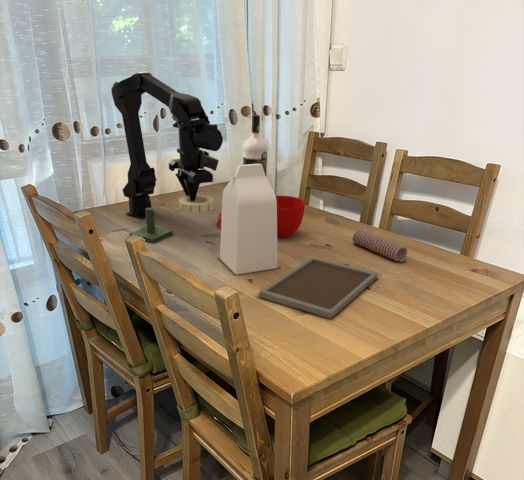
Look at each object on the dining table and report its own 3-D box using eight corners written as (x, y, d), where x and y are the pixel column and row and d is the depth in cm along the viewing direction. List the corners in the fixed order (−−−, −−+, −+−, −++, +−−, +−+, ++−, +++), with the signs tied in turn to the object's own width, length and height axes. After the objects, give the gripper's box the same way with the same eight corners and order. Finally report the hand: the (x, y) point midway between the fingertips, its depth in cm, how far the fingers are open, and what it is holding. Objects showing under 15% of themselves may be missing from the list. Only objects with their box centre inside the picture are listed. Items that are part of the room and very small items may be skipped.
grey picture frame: (258, 291, 132) (316, 253, 154) (258, 297, 133) (316, 258, 155) (331, 313, 124) (381, 269, 146) (330, 319, 124) (380, 275, 146)
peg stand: (129, 237, 165) (127, 209, 160) (149, 228, 171) (147, 202, 167) (153, 243, 161) (151, 215, 157) (172, 234, 168) (171, 207, 163)
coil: (410, 246, 153) (364, 227, 166) (399, 247, 151) (353, 228, 163) (406, 262, 156) (360, 242, 168) (395, 263, 153) (350, 243, 165)
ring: (171, 208, 162) (171, 200, 161) (193, 199, 170) (192, 192, 169) (201, 215, 158) (200, 207, 157) (221, 206, 166) (221, 198, 165)
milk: (236, 274, 144) (236, 172, 130) (219, 258, 153) (218, 161, 139) (277, 268, 148) (282, 168, 135) (259, 253, 157) (262, 158, 144)
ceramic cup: (284, 221, 182) (286, 190, 176) (310, 238, 169) (313, 205, 164) (248, 225, 177) (249, 194, 171) (272, 243, 164) (273, 210, 159)
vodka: (254, 201, 199) (256, 111, 183) (272, 208, 193) (276, 115, 178) (235, 206, 193) (235, 114, 177) (253, 213, 188) (255, 118, 172)
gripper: (229, 150, 155) (229, 205, 163) (201, 137, 169) (202, 189, 177) (193, 153, 150) (194, 210, 158) (166, 140, 164) (169, 193, 172)
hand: (191, 199), depth 166 cm, fingers closed on ring, 2 cm apart
